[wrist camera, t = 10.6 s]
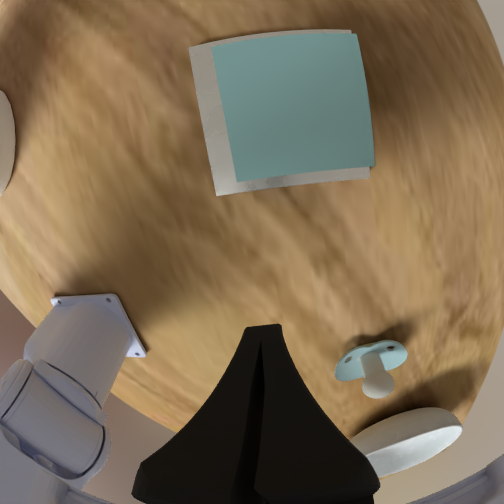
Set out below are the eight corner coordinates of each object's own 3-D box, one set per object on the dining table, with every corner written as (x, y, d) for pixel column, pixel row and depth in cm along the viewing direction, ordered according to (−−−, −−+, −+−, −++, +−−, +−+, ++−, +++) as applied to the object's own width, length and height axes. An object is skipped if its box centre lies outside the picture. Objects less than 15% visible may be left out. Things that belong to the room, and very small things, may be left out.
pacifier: (396, 361, 26) (401, 325, 23) (412, 407, 21) (423, 375, 18) (333, 378, 27) (329, 344, 25) (342, 426, 22) (340, 400, 19)
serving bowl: (310, 427, 33) (314, 469, 27) (450, 368, 27) (468, 407, 21) (350, 458, 41) (353, 487, 35) (448, 417, 35) (458, 445, 29)
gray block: (218, 192, 18) (193, 236, 12) (191, 50, 14) (150, 18, 8) (365, 175, 17) (414, 210, 11) (347, 33, 13) (389, -4, 6)
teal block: (247, 157, 16) (236, 182, 10) (231, 72, 14) (211, 47, 8) (335, 146, 16) (375, 166, 10) (322, 62, 13) (356, 33, 7)
